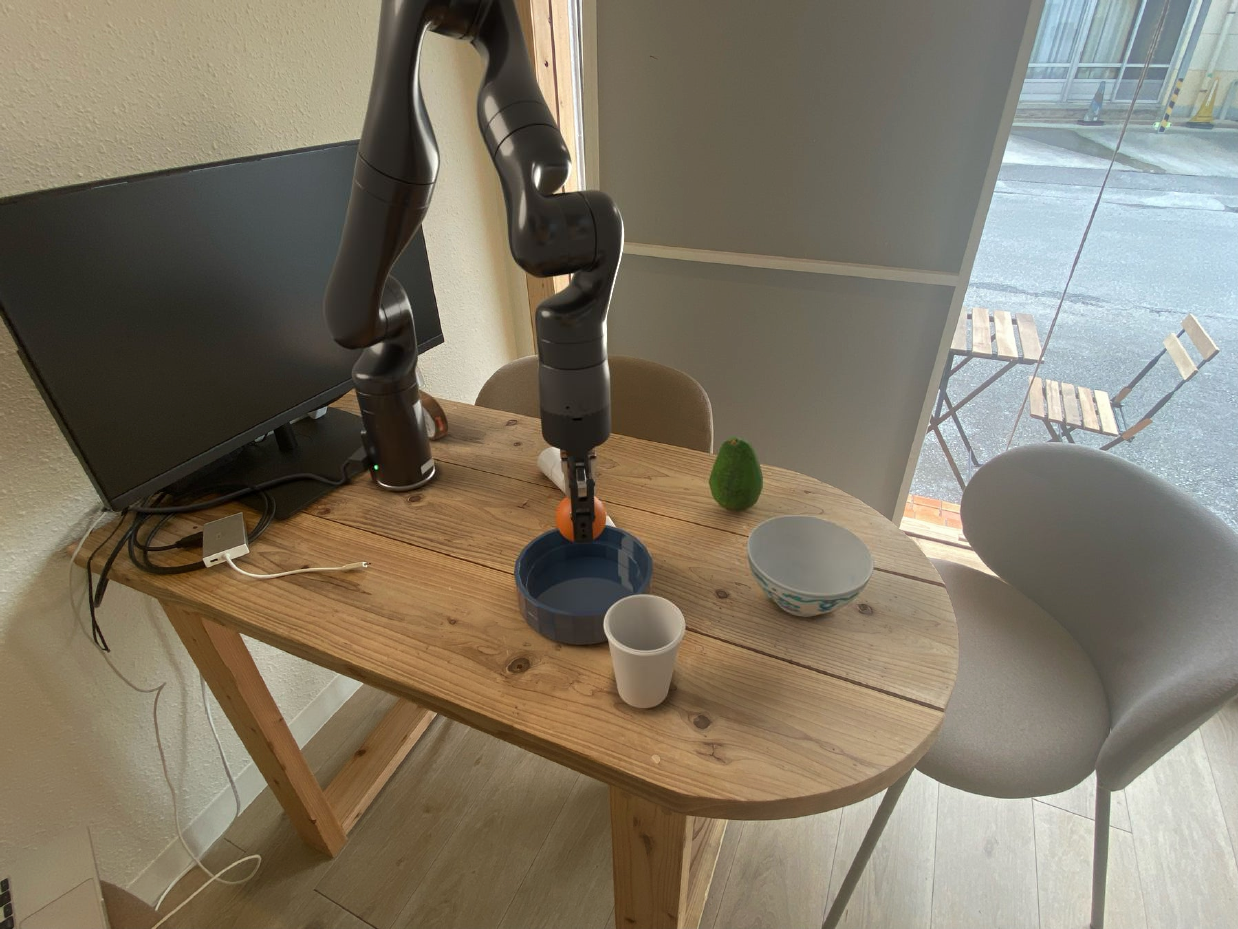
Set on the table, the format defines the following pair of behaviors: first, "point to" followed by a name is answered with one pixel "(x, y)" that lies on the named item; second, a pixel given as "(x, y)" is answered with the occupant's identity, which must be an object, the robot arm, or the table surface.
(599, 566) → the bowl
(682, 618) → the dixie cup
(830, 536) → the chinaware
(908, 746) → the table surface
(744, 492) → the avocado
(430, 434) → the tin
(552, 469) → the unicorn horn
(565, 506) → the mandarin
